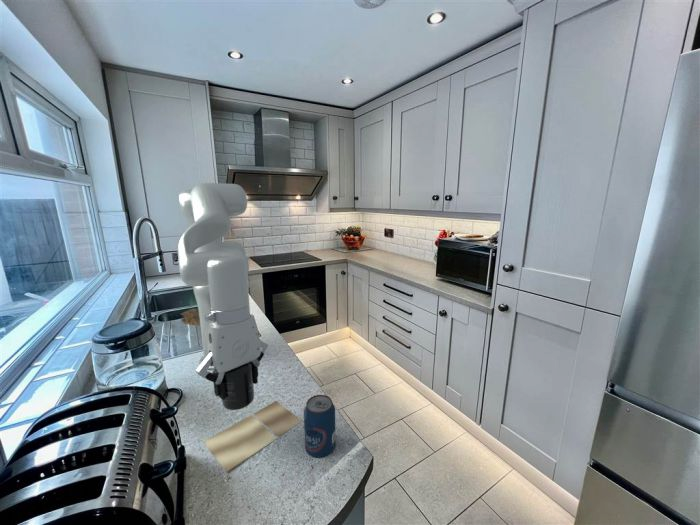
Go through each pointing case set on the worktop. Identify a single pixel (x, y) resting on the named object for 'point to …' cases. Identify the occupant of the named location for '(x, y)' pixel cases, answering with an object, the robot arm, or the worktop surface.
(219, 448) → the plank
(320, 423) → the soda can
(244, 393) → the supplement bottle
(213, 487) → the worktop surface
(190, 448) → the worktop surface
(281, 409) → the laid board
